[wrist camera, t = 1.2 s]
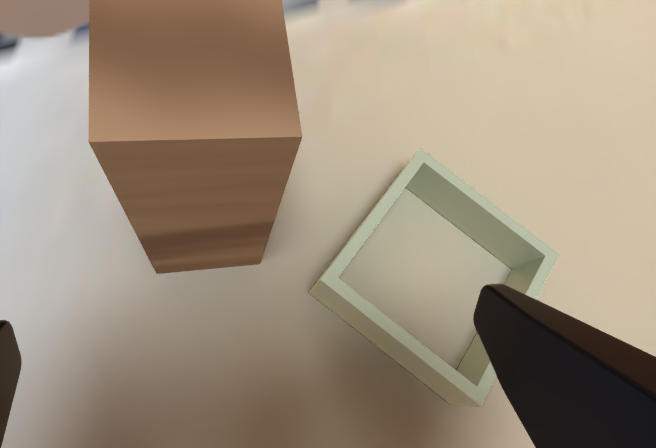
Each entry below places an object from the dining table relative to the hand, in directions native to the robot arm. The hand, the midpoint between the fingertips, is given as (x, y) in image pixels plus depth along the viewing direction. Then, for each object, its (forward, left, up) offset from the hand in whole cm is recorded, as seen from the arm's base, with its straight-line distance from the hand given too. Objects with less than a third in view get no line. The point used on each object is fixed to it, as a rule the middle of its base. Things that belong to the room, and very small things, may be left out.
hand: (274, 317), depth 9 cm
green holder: (+9, -5, -14) cm, 18 cm away
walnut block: (+4, +6, -14) cm, 16 cm away
